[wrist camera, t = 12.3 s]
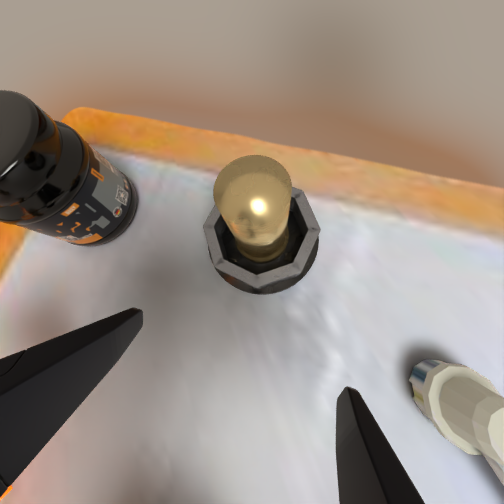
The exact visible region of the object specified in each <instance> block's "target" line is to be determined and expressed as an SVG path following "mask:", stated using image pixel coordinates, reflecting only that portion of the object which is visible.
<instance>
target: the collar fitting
mask: <svg viewBox="0 0 504 504" xmlns="http://www.w3.org/2000/svg"><path fill="white" fill-rule="evenodd" d="M287 226H288V231H289V238H288V243H287V247H286V249H285V251H284V253H283V254H282V255H281V256H280V257H279V258H278V259H276V260H275V261H273V262H270V263H266V264H258V263H253V262H251V261H249V260H247V259H246V258H245V257H243V255H242V254H241V253H240V251H239V250H238V248H237V246H236V244H235V241H234V236H233V234H232V232H231V230H230V229H229V227H228V225H227V224H226V222H225V220H224V218H223V217H222V215H221V213H220V212H219V210H218V208H217V206H216V204H215V206H214V208H213V210H212V211H211V213H210V215H209V216H208V218H207V220H206V222H205V223H204V225H203V228H204V232H205V235H206V239H207V242H208V248H209V254H210V257H211V260H212V263H213V265H214V267H215V269H216V270H217V271H218V273H219V274H220V275H221V276H222V278H223V279H224V280H226V281H227V282H228V283H229V284H231V285H232V286H234V287H236V288H238V289H240V290H242V291H245V292H248V293H252V294H273V293H277V292H281V291H283V290H286V289H288V288H290V287H291V286H293V285H295V284H296V283H297V282H298V281H300V280H301V279H302V278H303V277H304V276H305V275H306V273H307V272H308V271H309V269H310V268H311V266H312V264H313V262H314V260H315V257H316V255H317V250H318V243H319V238H318V235H319V233H320V231H321V229H320V227H319V225H318V222H317V220H316V218H315V216H314V214H313V211H312V209H311V207H310V205H309V203H308V200H307V198H306V196H305V194H304V192H302V190H299V189H297V188H294V187H292V193H291V200H290V208H289V215H288V223H287Z"/></svg>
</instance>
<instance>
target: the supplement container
mask: <svg viewBox="0 0 504 504" xmlns="http://www.w3.org/2000/svg"><path fill="white" fill-rule="evenodd" d="M136 203H137V197H136V192H135V189H134V187H133V185H132V183H131V181H130V180H129V179H128V178H127V177H126V176H125V175H124V174H123V173H122V172H120V171H119V170H117V169H116V168H115V167H114V166H113V165H112V164H111V163H109V162H108V161H107V160H106V159H105V158H104V157H103V156H101V155H100V154H99V153H98V152H97V151H96V150H95V149H93V148H92V147H91V146H90V145H89V144H88V143H87V142H85V141H84V140H83V138H82V137H81V136H80V135H79V134H78V133H77V132H76V131H75V130H74V129H73V128H71V127H70V126H68V125H66V124H64V123H62V122H59V121H55V120H53V119H52V118H51V117H50V116H49V115H48V114H47V113H46V112H44V111H43V110H42V109H41V108H40V107H38V106H37V105H36V104H35V103H34V102H33V101H31V100H30V99H29V98H27V97H26V96H24V95H22V94H20V93H17V92H13V91H6V90H0V222H3V223H7V224H13V225H17V226H20V227H24V228H27V229H30V230H33V231H36V232H39V233H42V234H45V235H49V236H52V237H55V238H58V239H61V240H64V241H67V242H69V243H71V244H74V245H79V246H97V245H101V244H104V243H106V242H109V241H110V240H112V239H114V238H115V237H117V236H118V235H119V234H121V233H122V232H123V231H124V230H125V228H126V227H127V226H128V225H129V223H130V222H131V220H132V218H133V216H134V213H135V210H136Z"/></svg>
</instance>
